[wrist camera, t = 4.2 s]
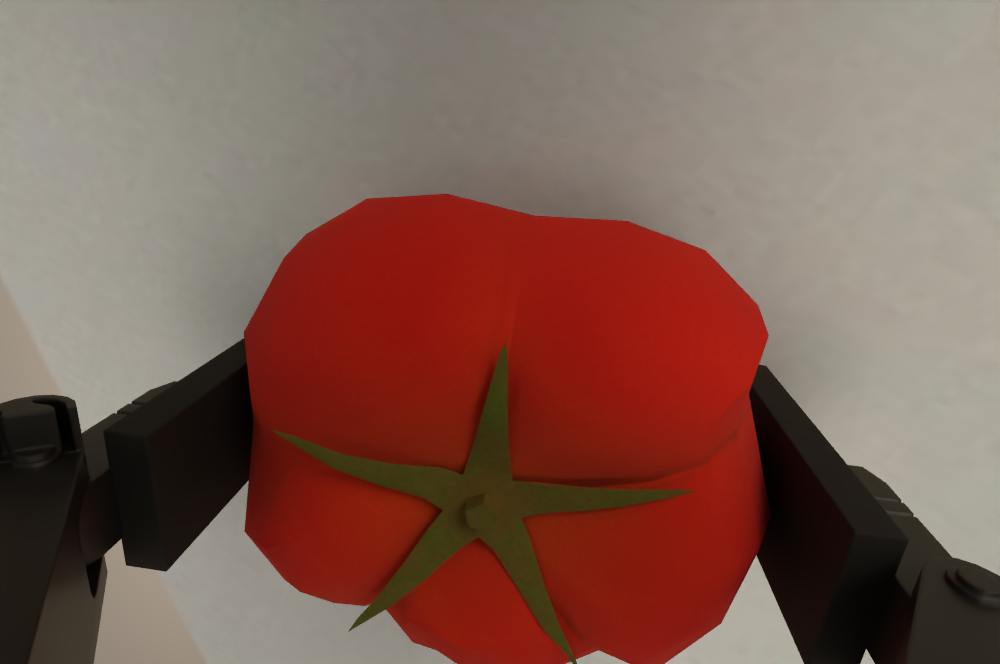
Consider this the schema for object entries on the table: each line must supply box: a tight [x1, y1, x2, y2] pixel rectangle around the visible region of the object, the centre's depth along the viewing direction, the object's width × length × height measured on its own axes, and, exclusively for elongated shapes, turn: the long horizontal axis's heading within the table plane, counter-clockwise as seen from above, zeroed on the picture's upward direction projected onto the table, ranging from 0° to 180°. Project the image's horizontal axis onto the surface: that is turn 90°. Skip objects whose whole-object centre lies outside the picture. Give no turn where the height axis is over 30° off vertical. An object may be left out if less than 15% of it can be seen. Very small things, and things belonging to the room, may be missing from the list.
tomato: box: [244, 194, 771, 664], centre depth 13 cm, size 10×11×6 cm
